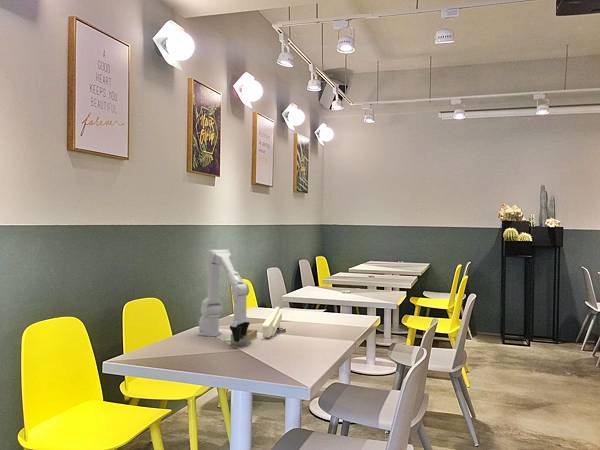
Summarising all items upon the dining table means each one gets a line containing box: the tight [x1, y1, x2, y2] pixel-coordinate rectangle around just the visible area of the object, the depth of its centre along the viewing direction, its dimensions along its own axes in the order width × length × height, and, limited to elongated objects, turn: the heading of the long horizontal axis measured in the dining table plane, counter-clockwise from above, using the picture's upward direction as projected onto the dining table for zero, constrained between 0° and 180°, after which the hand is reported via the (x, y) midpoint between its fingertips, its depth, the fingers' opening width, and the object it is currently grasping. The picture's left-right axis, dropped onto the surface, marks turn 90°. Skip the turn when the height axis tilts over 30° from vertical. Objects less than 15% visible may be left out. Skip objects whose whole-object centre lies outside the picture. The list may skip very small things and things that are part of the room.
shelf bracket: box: [261, 306, 283, 339], centre depth 255 cm, size 6×25×13 cm, turn 168°
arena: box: [223, 329, 258, 343], centre depth 243 cm, size 12×12×4 cm
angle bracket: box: [230, 333, 252, 347], centre depth 232 cm, size 8×5×5 cm, turn 75°
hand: (239, 339), depth 231 cm, fingers open, 7 cm apart
